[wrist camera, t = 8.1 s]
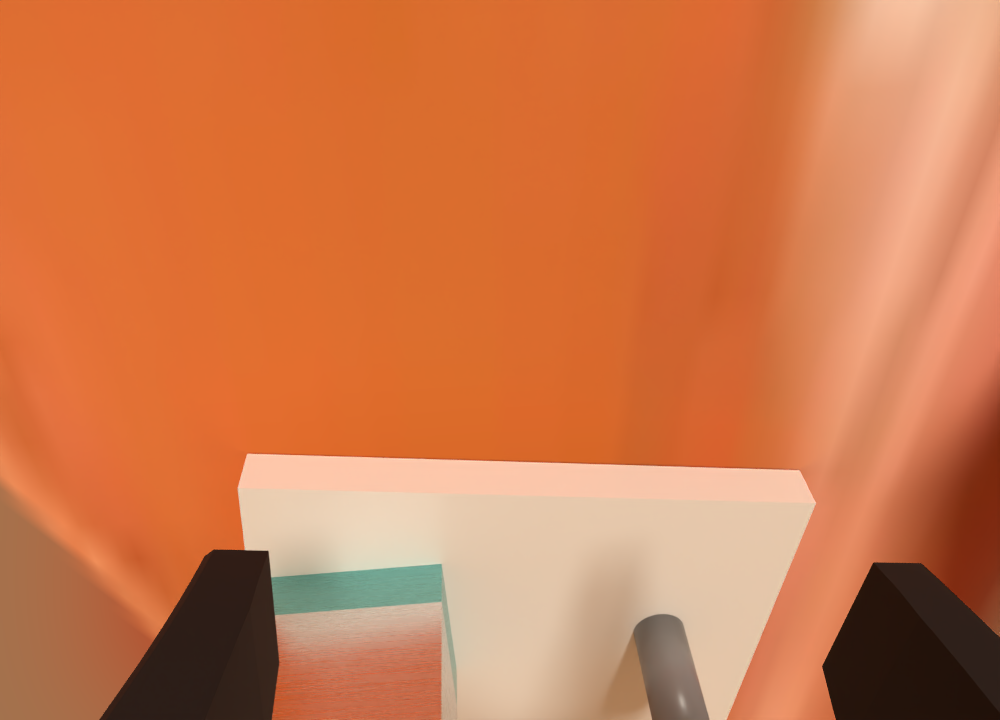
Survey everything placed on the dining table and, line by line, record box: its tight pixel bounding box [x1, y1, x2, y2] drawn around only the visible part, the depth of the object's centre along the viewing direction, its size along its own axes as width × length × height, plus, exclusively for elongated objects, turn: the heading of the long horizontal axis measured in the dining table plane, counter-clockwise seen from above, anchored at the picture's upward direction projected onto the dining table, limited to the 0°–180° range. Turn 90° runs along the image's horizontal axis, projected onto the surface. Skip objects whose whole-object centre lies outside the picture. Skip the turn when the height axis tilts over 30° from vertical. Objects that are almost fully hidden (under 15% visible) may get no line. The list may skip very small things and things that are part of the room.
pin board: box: [238, 454, 816, 720], centre depth 23 cm, size 14×10×4 cm
